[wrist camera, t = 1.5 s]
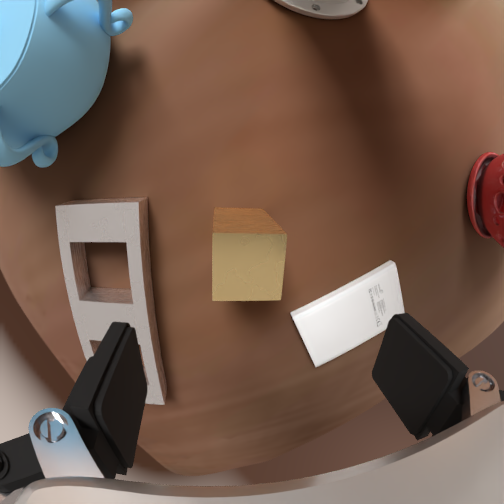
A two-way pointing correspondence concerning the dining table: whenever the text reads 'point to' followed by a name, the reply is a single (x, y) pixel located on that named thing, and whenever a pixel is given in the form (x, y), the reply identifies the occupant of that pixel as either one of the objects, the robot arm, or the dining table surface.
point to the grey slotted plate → (111, 299)
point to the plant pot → (487, 196)
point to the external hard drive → (350, 314)
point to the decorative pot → (51, 70)
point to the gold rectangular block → (247, 255)
